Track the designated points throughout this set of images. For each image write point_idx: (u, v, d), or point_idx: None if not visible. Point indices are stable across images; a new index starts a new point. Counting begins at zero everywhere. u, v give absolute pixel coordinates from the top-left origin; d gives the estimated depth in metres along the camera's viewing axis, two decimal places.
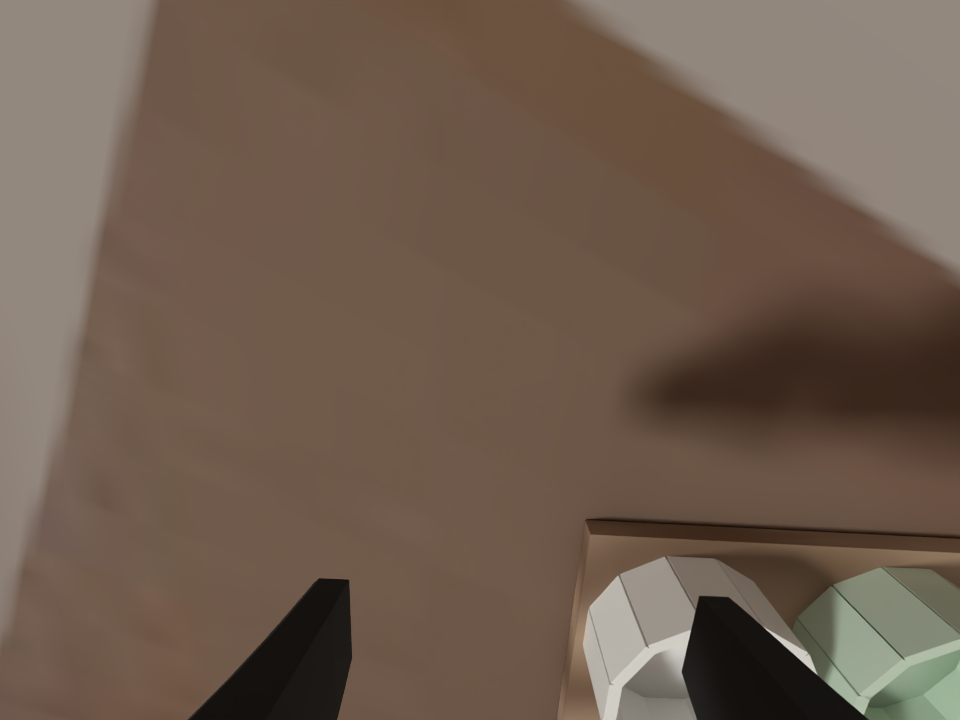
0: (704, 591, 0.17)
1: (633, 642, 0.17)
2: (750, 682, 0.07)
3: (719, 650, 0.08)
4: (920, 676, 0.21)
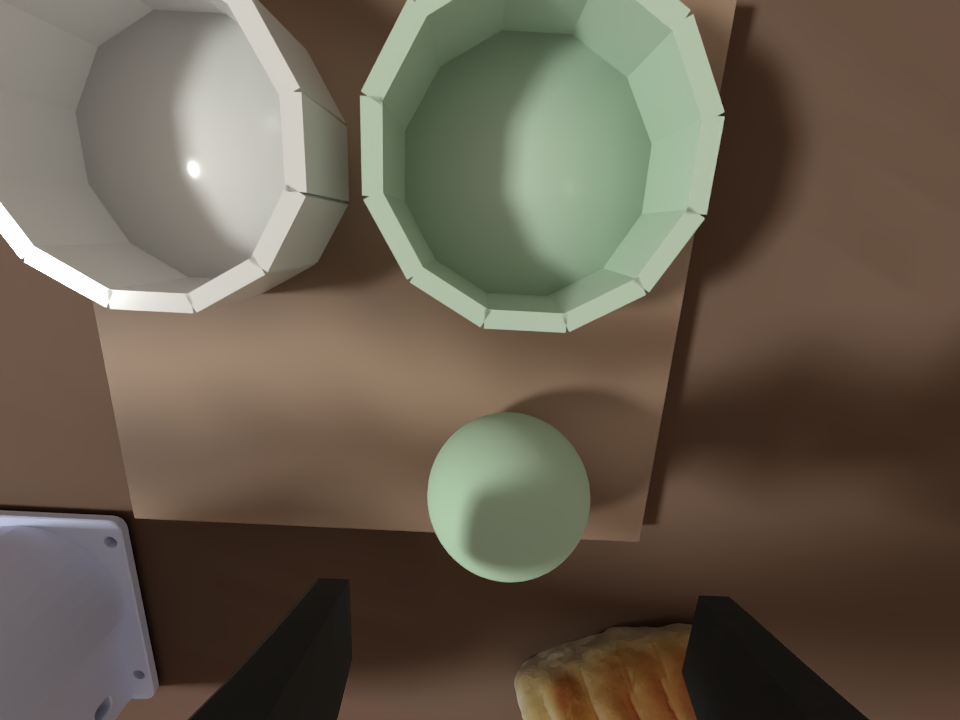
0: None
1: None
2: (750, 682, 0.07)
3: (719, 650, 0.08)
4: (591, 230, 0.14)
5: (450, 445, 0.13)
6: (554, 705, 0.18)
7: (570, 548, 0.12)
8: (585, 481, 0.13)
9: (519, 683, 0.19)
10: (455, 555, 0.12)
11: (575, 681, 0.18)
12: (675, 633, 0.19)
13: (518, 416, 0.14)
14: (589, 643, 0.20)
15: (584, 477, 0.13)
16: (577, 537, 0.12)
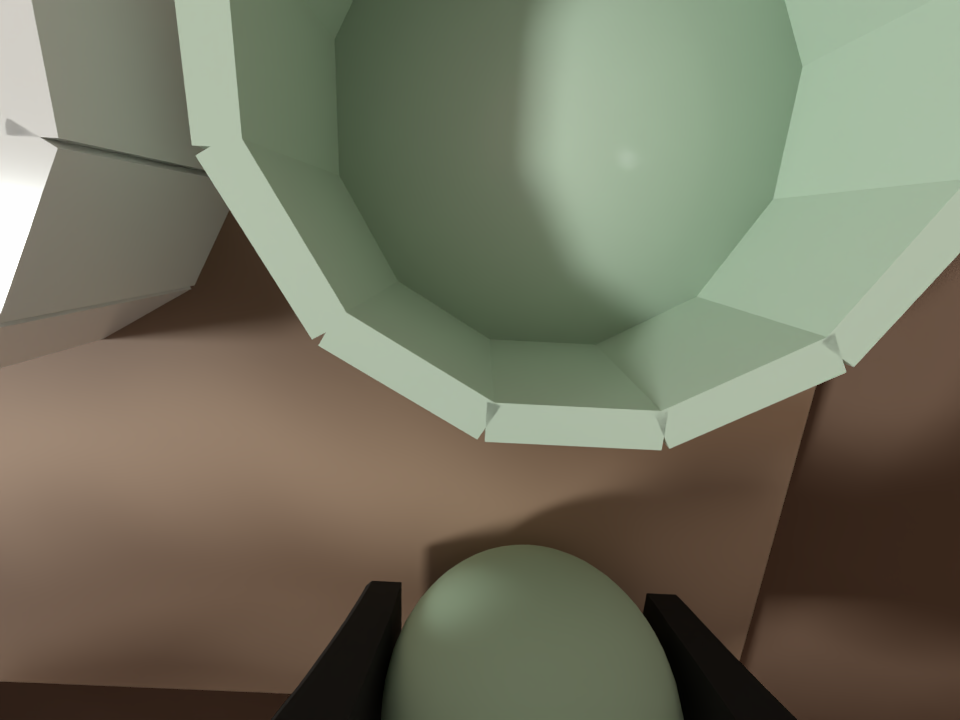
0: None
1: None
2: (686, 679, 0.07)
3: (662, 647, 0.08)
4: (679, 230, 0.08)
5: (422, 633, 0.07)
6: None
7: None
8: (679, 709, 0.07)
9: None
10: None
11: None
12: None
13: (548, 570, 0.07)
14: None
15: (677, 701, 0.07)
16: None
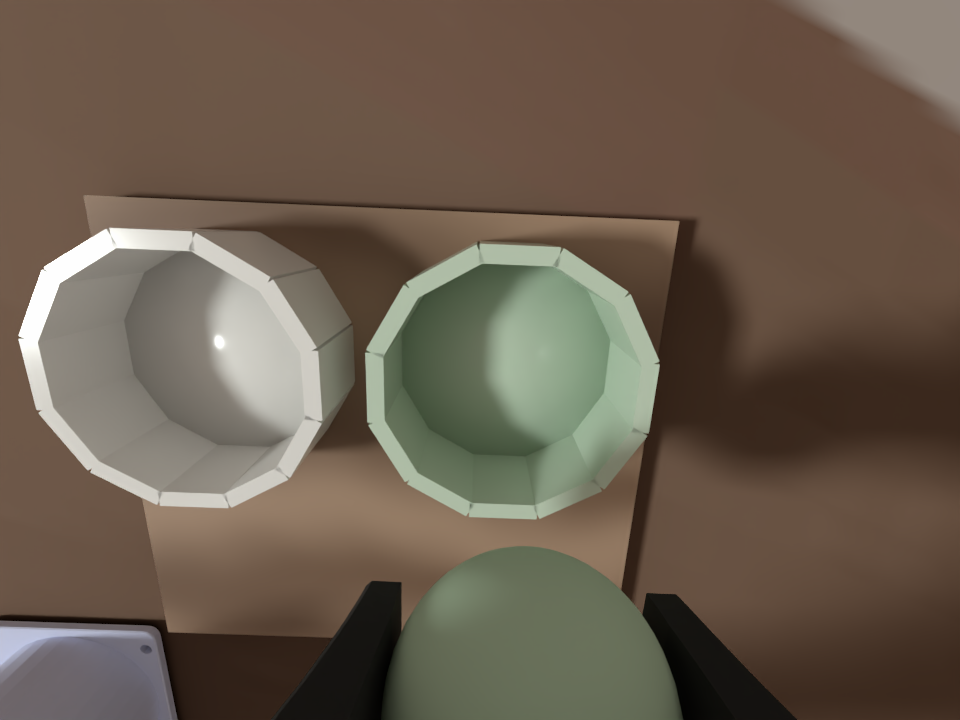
0: (176, 228, 0.13)
1: None
2: (686, 679, 0.07)
3: (662, 648, 0.08)
4: (561, 406, 0.16)
5: (422, 634, 0.07)
6: None
7: None
8: (678, 711, 0.07)
9: None
10: None
11: None
12: None
13: (548, 572, 0.07)
14: None
15: (676, 703, 0.07)
16: None
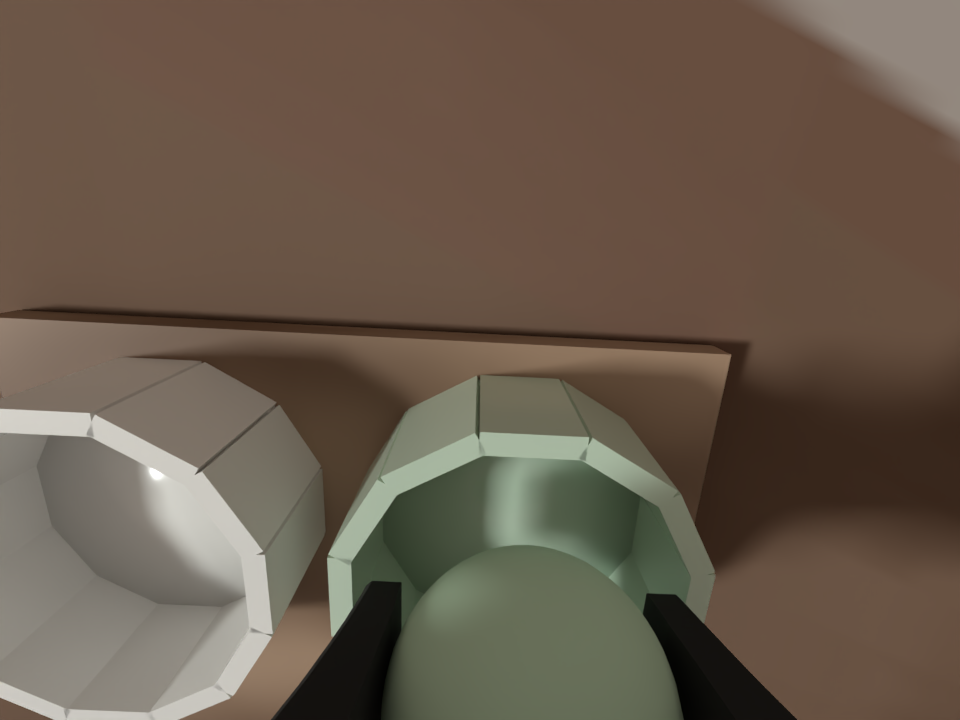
0: (85, 381, 0.10)
1: None
2: (686, 679, 0.07)
3: None
4: None
5: (421, 633, 0.07)
6: None
7: None
8: (679, 710, 0.07)
9: None
10: None
11: None
12: None
13: (548, 571, 0.07)
14: None
15: (677, 702, 0.07)
16: None
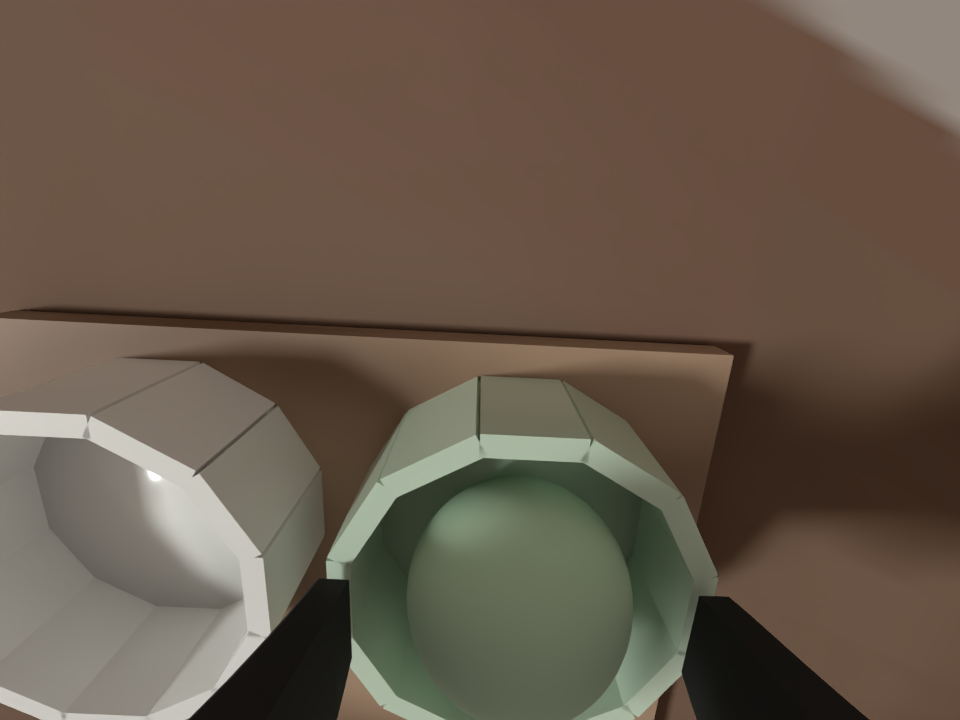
0: (81, 382, 0.10)
1: None
2: (750, 682, 0.07)
3: (719, 650, 0.08)
4: None
5: (438, 530, 0.09)
6: None
7: (609, 685, 0.09)
8: (627, 582, 0.09)
9: None
10: (444, 694, 0.09)
11: None
12: None
13: (532, 486, 0.10)
14: None
15: (626, 577, 0.09)
16: (618, 668, 0.09)
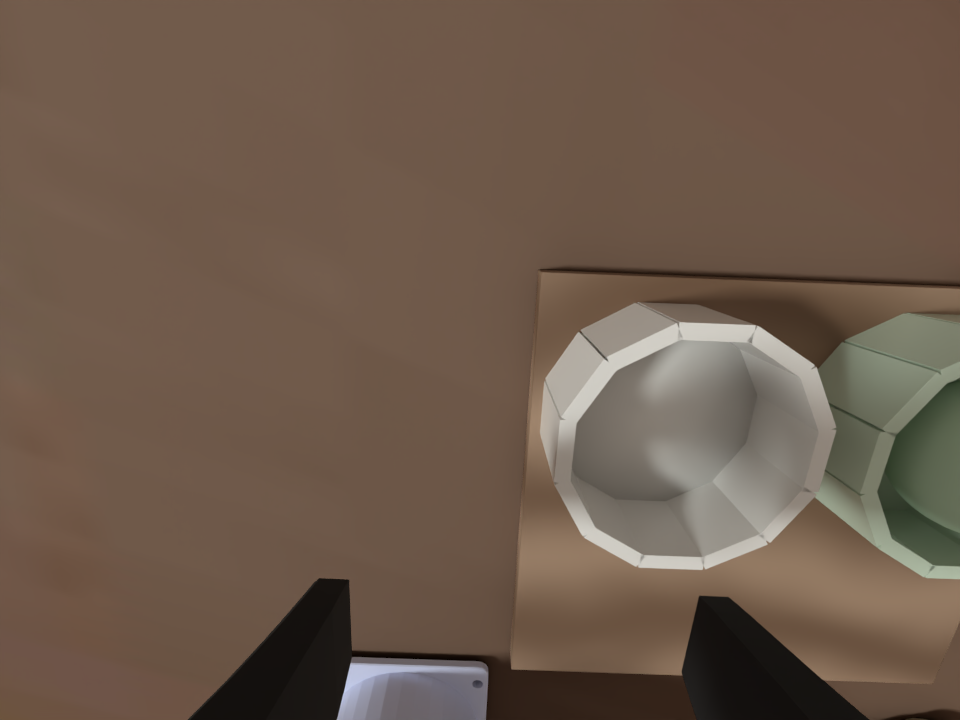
0: (681, 312, 0.14)
1: (590, 366, 0.13)
2: (750, 682, 0.07)
3: (719, 650, 0.08)
4: None
5: (956, 411, 0.13)
6: None
7: None
8: None
9: None
10: None
11: None
12: None
13: None
14: None
15: None
16: None
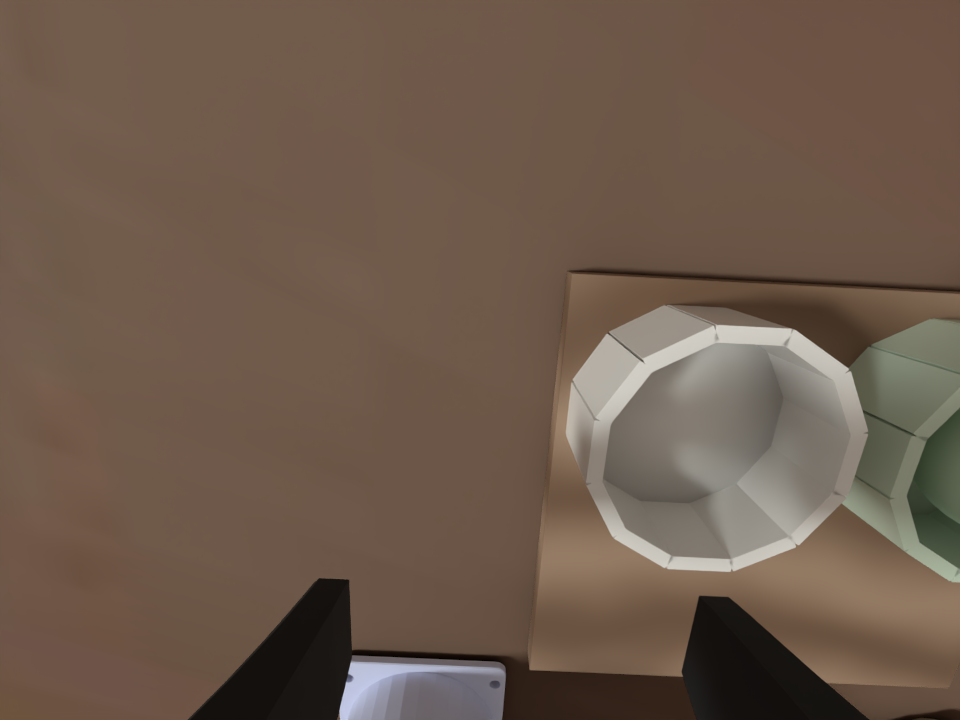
0: (714, 315, 0.14)
1: (624, 368, 0.13)
2: (750, 682, 0.07)
3: (719, 650, 0.08)
4: None
5: None
6: None
7: None
8: None
9: None
10: None
11: None
12: None
13: None
14: None
15: None
16: None
